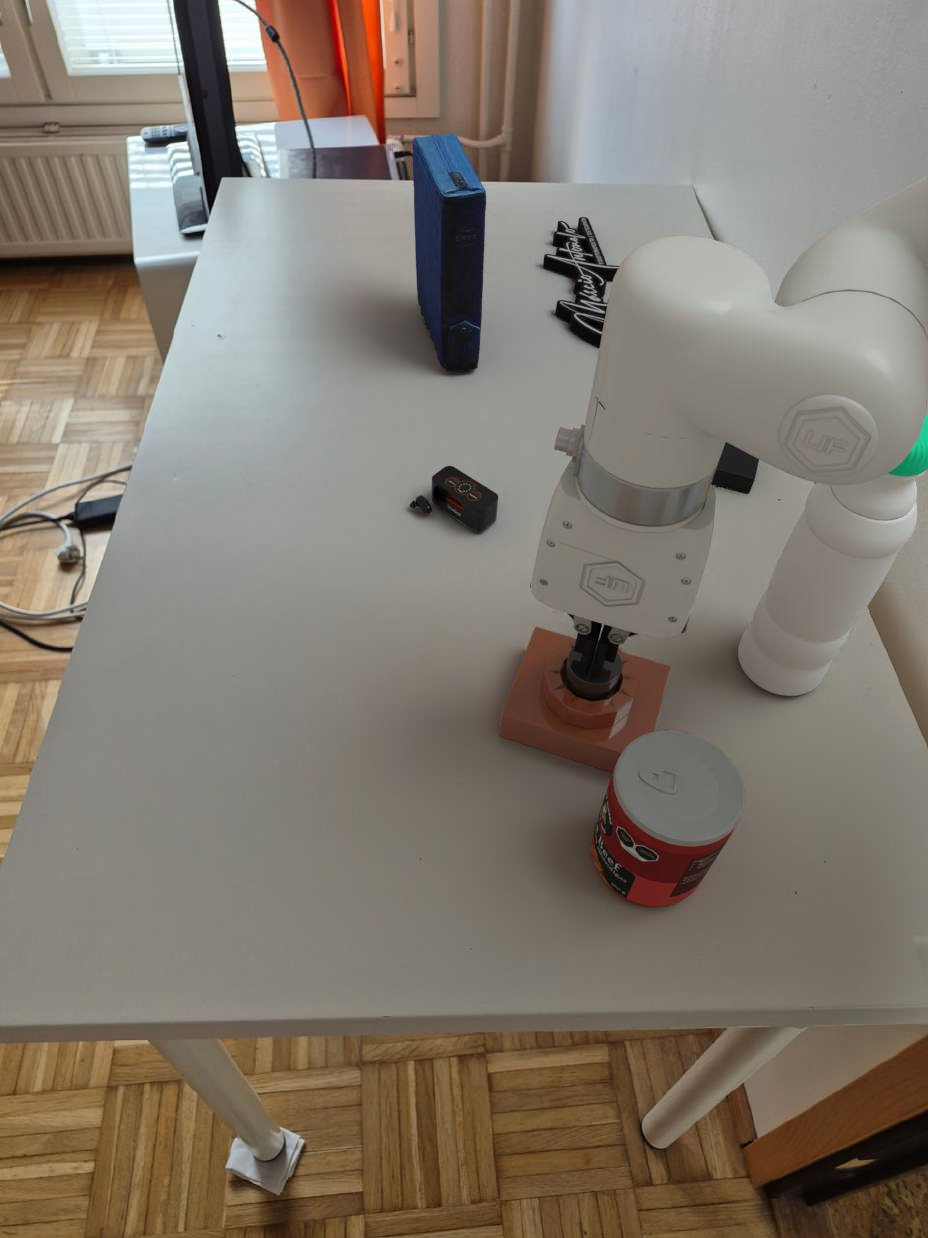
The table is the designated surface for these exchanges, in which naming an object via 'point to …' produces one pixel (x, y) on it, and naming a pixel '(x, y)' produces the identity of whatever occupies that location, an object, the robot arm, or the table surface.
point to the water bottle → (830, 575)
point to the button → (592, 677)
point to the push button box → (580, 705)
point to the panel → (735, 469)
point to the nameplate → (581, 278)
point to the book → (449, 248)
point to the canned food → (665, 817)
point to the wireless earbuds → (461, 499)
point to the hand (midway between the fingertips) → (593, 658)
